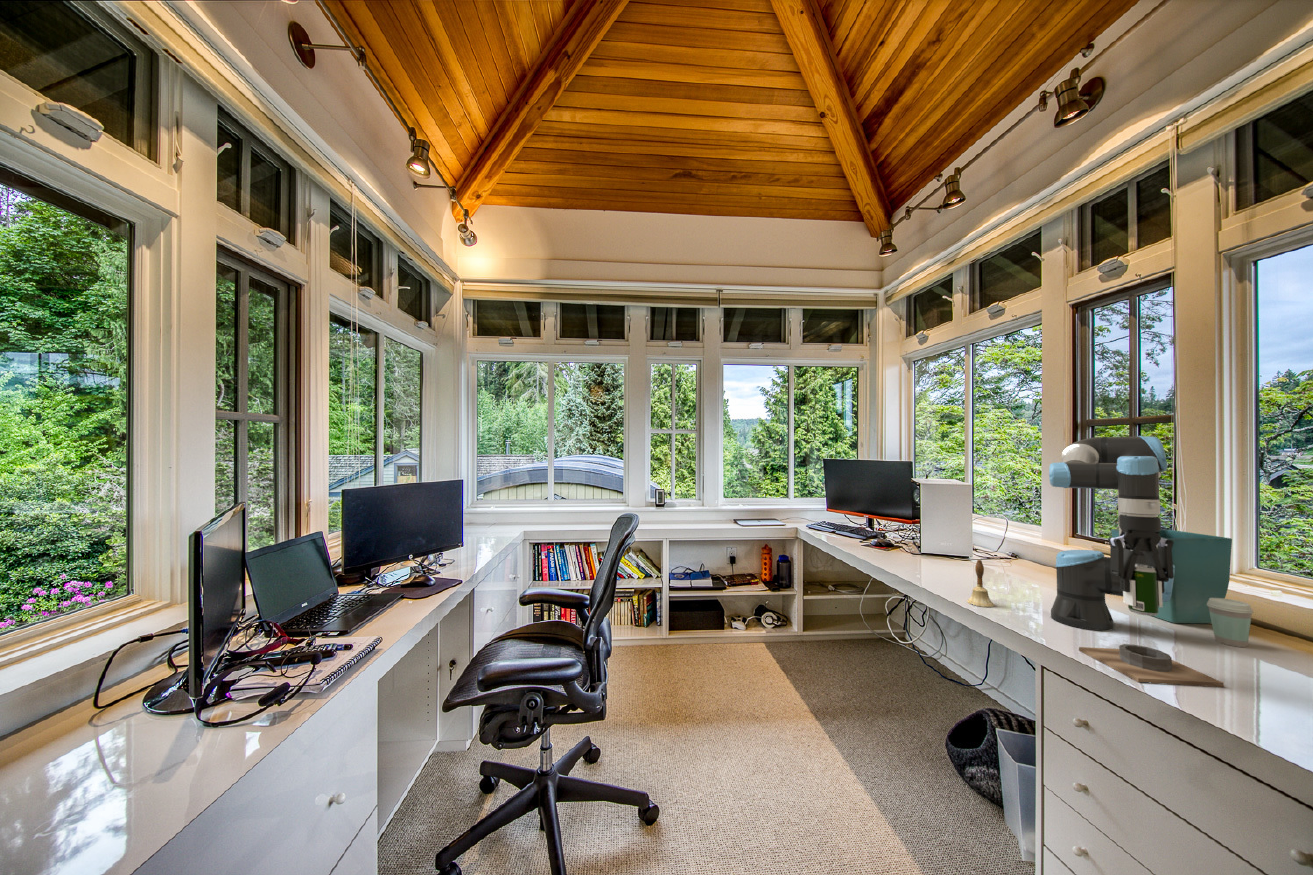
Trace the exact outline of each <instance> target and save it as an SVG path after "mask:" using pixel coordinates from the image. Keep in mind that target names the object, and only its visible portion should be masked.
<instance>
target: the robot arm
mask: <svg viewBox="0 0 1313 875" xmlns="http://www.w3.org/2000/svg"><path fill="white" fill-rule="evenodd" d="M1166 458H1167V454H1166V452H1165V448H1164V446H1163V443H1162V441H1161V439H1160V438H1158V437H1157V436H1156V437H1155V436H1147V435H1146V436H1142V435H1137V436H1095V437H1089V438H1084V439H1081V440H1078V441H1075V442H1073V443H1070V444H1069V445H1067V446H1066V447H1065V448H1064V449H1063V451H1062V452H1061V460H1062V461H1060V462H1052V463H1050V464H1049V466H1048V467H1049V468H1048V470H1049V471H1048V479H1049V483H1050V485H1051V487H1055V488H1063V489H1093V490H1095V489H1096V490H1116V491H1117V509H1118V511H1117V513H1118V529H1119V537H1116V538H1112V537H1108V538H1107V541H1108V543H1109V546H1110V549H1109V550H1110V553H1109V554H1110V555H1109V557H1108V556H1105V554H1104V552H1103V551H1099V550H1093V549H1069V550H1061V551H1059V552H1057V553H1056V556H1055V557H1056V558H1055V568H1056V596H1055V599H1054V601H1053V604H1052V606H1051V608H1050V618H1051V619H1052V620H1054V621H1056V622H1058V623H1060V624H1064V625H1067V626H1070V627H1075V628H1079V629H1085V630H1091V631H1113V630H1114V629H1115V625H1114V624H1115V623H1114V619H1113V616H1112V614H1111V612H1110V609H1109V607H1108V605H1107V603H1106V595H1110V596H1117V597H1122V598H1123V599H1122V600H1123V603H1124V604H1126V605H1127V606H1128V605H1131V606H1136V590H1135V580H1131V578H1132V574H1133V571H1134V567H1135V564H1142V565H1149V566H1153V567H1155V570H1156V571H1157V592H1158V607H1163V603H1162V602H1167V601H1169V600H1170V599H1171V594H1172V588H1173V581H1174V572H1175V566H1174V565H1173V561H1172V547H1173V544H1174V542H1173V541H1172V540H1168V539H1163V538H1161V537H1160V535H1159V531H1161V529H1162V520H1161V518H1160V516H1159V515H1161V501H1160V500H1161V499H1160V478H1161V476H1162V473H1164V472H1167V470H1168V462H1167V459H1166ZM1158 516H1159V517H1158Z"/></svg>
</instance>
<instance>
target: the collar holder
mask: <svg viewBox="0 0 1313 875" xmlns="http://www.w3.org/2000/svg"><path fill="white" fill-rule="evenodd" d="M1078 651H1079V652H1080V653H1082V654H1084V655H1086V656H1088V657H1090V658H1092V659H1094V660H1096V661H1098V662H1099V663H1101V664H1102V665H1103V664H1104V665H1105V666H1107V667H1109V668H1111V669H1112V670H1114V671H1116V672H1117V673H1120V674H1122V675H1124V676H1125V677H1128V678H1130V679H1131V680H1133V681H1135V682H1136V683H1140V682H1151V683H1150V684H1158V683H1167V684H1166V685H1176V684H1180V685H1181V686H1197V687H1213V686H1215V687H1216V688H1217V687H1218V688H1224V687H1225V686H1224V682H1222V681H1220V680H1219V679H1216V678H1213V677H1211V676H1209V675H1207V674H1205V673H1202V672H1200V671H1199V670H1195V669H1194V668H1192V667H1189V666H1188V665H1184V664H1182V663H1180V662H1177V661H1175V660H1174V659H1173V658H1172V656H1171V655H1170V654H1168V653H1166V652H1165V651H1161V650H1158V649H1156V648H1152V647H1148V646H1145V645H1144V646H1143V645H1138V644H1130V643H1129V644H1128V643H1124V644H1123V643H1122V644H1119V645H1118V648H1110V647H1108V648H1104V647H1084V646H1078ZM1180 685H1179V686H1180ZM1199 685H1200V686H1199Z"/></svg>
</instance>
